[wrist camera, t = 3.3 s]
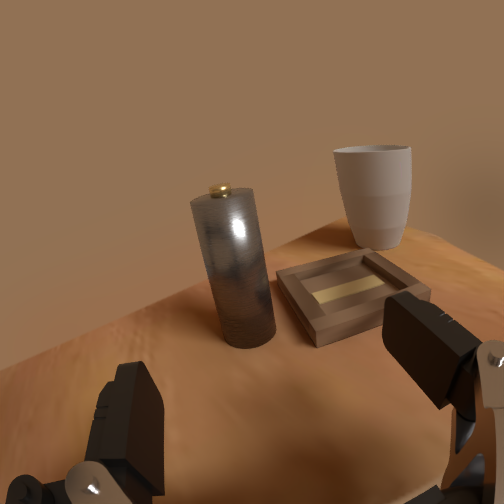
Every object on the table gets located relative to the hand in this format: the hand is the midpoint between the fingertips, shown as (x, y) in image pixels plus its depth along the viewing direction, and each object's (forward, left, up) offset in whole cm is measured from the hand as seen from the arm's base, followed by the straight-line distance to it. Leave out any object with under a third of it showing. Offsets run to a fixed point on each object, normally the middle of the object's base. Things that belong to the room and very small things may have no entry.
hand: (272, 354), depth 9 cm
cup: (+16, +19, -6) cm, 25 cm away
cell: (0, +10, -6) cm, 11 cm away
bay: (+8, +11, -6) cm, 15 cm away
